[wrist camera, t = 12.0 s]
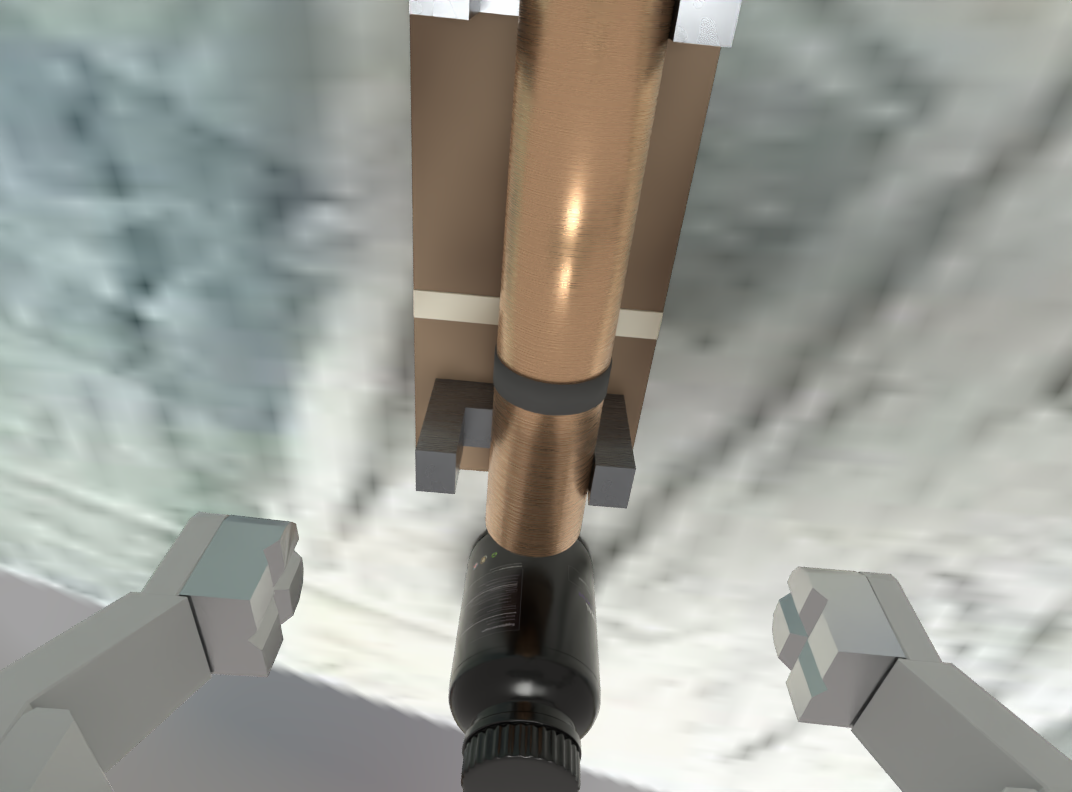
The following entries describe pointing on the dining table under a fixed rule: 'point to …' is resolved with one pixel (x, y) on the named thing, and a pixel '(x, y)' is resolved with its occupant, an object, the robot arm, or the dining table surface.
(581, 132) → the copper tube
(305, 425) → the dining table surface
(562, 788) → the supplement bottle
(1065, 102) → the dining table surface
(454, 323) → the cradle board
